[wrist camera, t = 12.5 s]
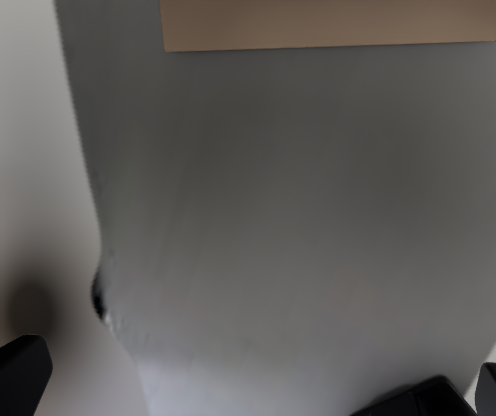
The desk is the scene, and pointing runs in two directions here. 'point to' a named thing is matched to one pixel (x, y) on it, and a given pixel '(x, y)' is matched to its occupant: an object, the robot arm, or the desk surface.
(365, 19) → the socket holder
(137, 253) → the desk surface
